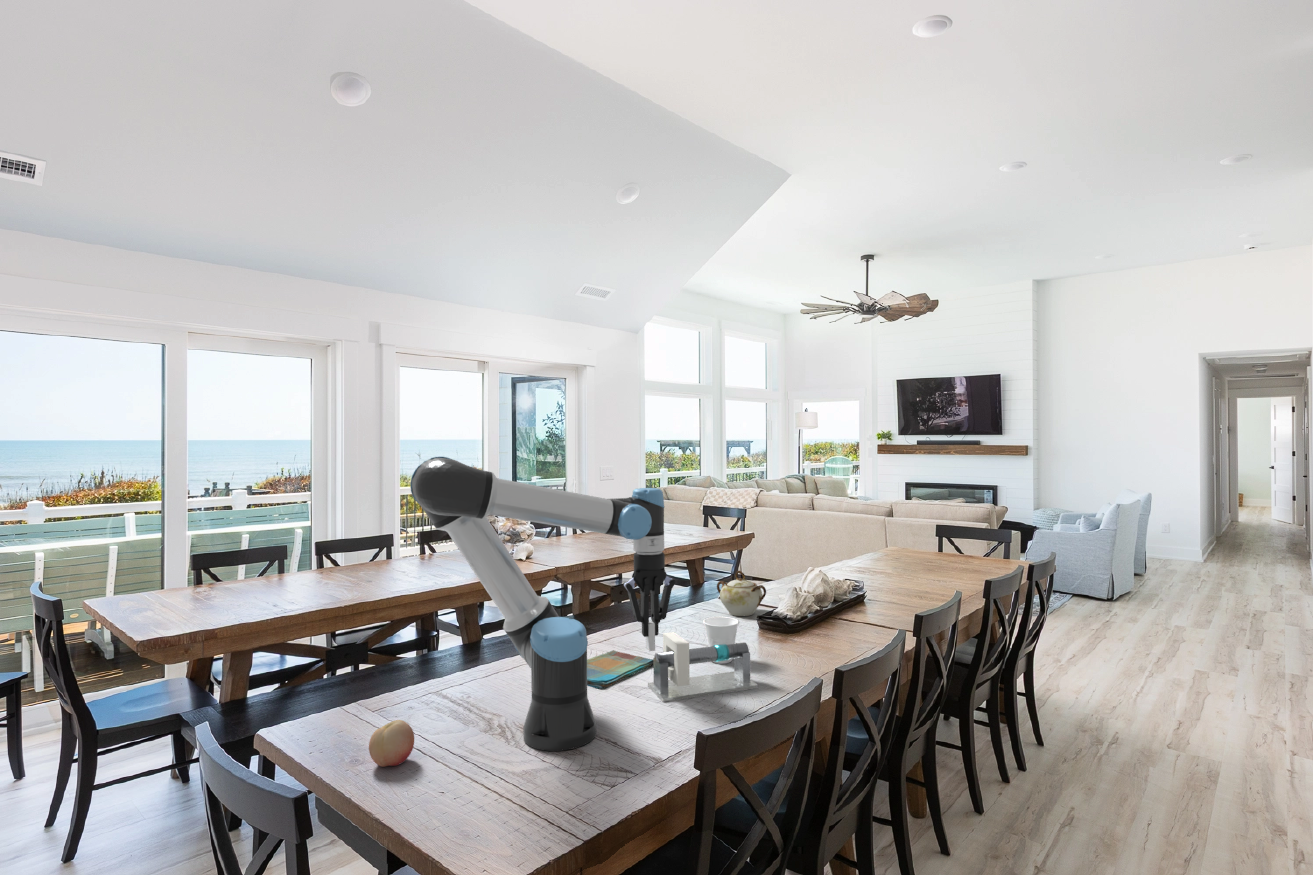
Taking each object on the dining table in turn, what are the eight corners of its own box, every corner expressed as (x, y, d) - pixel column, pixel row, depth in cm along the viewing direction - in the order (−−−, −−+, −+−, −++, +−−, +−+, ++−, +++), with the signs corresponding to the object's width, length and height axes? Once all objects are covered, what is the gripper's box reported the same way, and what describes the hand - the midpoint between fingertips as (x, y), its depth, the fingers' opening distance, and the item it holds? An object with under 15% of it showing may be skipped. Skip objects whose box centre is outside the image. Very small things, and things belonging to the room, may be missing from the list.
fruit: (382, 753, 140) (382, 713, 139) (421, 755, 139) (420, 714, 139) (361, 773, 132) (361, 730, 132) (402, 774, 131) (401, 731, 131)
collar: (677, 686, 167) (677, 644, 167) (663, 672, 176) (663, 633, 176) (689, 684, 168) (689, 642, 168) (674, 671, 177) (674, 632, 177)
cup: (737, 667, 189) (737, 626, 189) (701, 665, 191) (700, 625, 191) (740, 655, 199) (740, 617, 198) (705, 654, 201) (705, 615, 200)
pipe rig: (662, 701, 165) (662, 659, 165) (647, 686, 175) (647, 646, 175) (757, 688, 173) (757, 647, 173) (738, 673, 184) (737, 635, 184)
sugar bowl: (705, 613, 246) (705, 571, 245) (728, 605, 257) (727, 564, 257) (755, 622, 234) (755, 577, 234) (776, 613, 246) (776, 570, 245)
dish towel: (552, 678, 184) (552, 668, 184) (610, 655, 202) (610, 646, 202) (601, 692, 173) (601, 682, 173) (658, 666, 192) (658, 657, 192)
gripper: (627, 556, 164) (629, 657, 164) (679, 552, 168) (681, 650, 168) (618, 551, 171) (620, 647, 171) (668, 547, 175) (670, 641, 175)
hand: (650, 649), depth 170 cm, fingers closed
